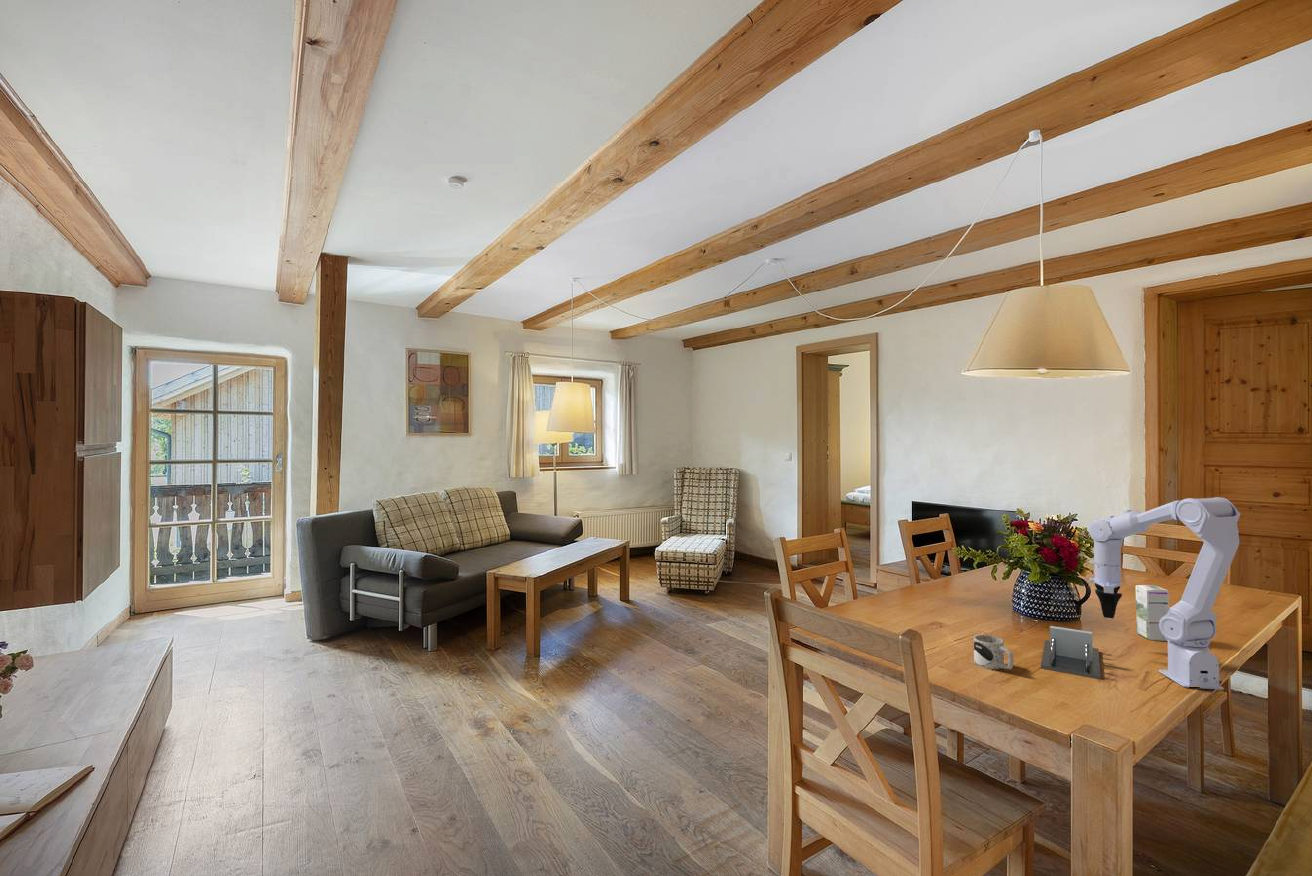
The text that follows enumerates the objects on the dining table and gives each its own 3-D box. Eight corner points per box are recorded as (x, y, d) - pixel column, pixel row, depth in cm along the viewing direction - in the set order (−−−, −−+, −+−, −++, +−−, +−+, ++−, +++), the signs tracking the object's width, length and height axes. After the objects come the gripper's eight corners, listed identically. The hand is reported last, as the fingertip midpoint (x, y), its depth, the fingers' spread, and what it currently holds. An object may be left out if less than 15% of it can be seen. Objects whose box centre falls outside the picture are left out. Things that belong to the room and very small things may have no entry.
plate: (1092, 661, 149) (1092, 633, 149) (1050, 653, 154) (1049, 627, 154) (1092, 659, 150) (1092, 632, 150) (1050, 652, 156) (1050, 625, 156)
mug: (968, 662, 152) (967, 636, 152) (986, 658, 154) (986, 633, 154) (1003, 676, 142) (1002, 649, 142) (1022, 672, 145) (1022, 645, 145)
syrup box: (1171, 641, 165) (1170, 590, 165) (1147, 640, 166) (1146, 589, 166) (1158, 634, 171) (1157, 585, 171) (1135, 633, 172) (1134, 584, 172)
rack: (1100, 679, 140) (1100, 657, 140) (1040, 668, 147) (1040, 647, 147) (1098, 651, 158) (1098, 632, 158) (1045, 642, 165) (1044, 624, 165)
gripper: (1088, 557, 167) (1089, 605, 167) (1089, 567, 155) (1090, 618, 155) (1120, 560, 163) (1120, 609, 163) (1123, 570, 151) (1124, 623, 151)
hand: (1108, 614), depth 158 cm, fingers open, 7 cm apart
